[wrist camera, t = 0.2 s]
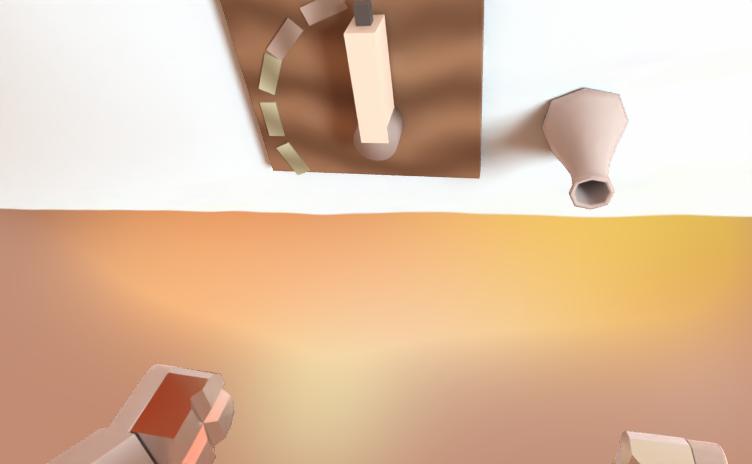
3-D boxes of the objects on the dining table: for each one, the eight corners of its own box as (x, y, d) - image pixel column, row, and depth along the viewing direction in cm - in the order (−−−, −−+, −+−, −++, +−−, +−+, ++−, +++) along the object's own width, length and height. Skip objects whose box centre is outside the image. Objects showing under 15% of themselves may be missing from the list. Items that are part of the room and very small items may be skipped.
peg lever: (405, 139, 50) (398, 161, 48) (365, 138, 51) (356, 160, 49) (391, -8, 41) (382, 11, 39) (342, -5, 42) (330, 12, 40)
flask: (542, 158, 51) (543, 229, 44) (540, 90, 46) (540, 158, 39) (624, 153, 48) (639, 227, 41) (631, 81, 44) (649, 151, 37)
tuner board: (224, -18, 45) (215, -11, 44) (484, -32, 40) (483, -24, 39) (278, 164, 58) (273, 174, 57) (480, 171, 53) (479, 182, 52)
